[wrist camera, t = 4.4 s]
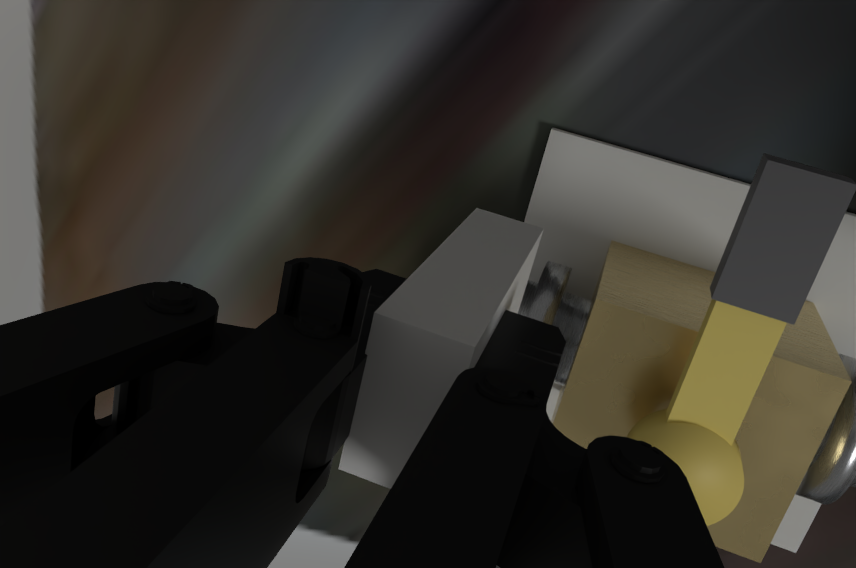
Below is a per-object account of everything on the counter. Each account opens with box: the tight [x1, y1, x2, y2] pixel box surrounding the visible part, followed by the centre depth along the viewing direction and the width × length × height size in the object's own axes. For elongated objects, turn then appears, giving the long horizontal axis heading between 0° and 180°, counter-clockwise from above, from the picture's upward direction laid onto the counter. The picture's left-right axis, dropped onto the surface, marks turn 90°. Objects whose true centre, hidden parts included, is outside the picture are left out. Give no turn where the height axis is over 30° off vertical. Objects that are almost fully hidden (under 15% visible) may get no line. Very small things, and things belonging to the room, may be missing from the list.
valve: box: [518, 240, 856, 563], centre depth 36 cm, size 9×18×11 cm, turn 76°
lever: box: [627, 153, 856, 526], centre depth 28 cm, size 14×4×1 cm, turn 166°
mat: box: [524, 128, 856, 553], centre depth 41 cm, size 18×19×1 cm
